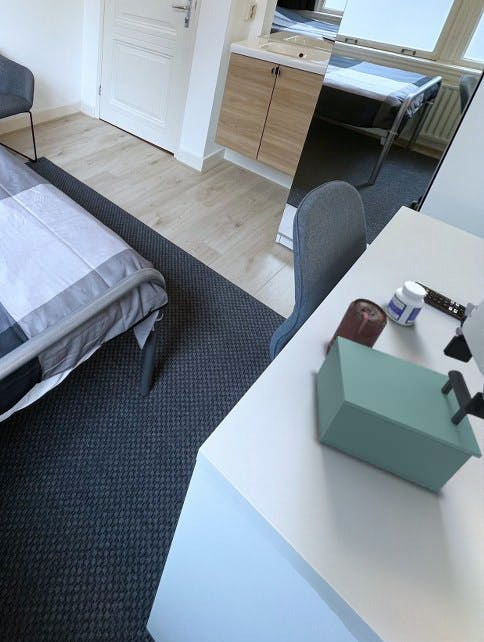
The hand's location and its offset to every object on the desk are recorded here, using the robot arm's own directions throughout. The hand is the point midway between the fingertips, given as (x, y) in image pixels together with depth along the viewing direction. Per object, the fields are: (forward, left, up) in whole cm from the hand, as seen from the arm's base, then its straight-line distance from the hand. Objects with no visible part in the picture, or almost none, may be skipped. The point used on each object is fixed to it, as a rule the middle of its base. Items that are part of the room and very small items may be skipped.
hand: (465, 384), depth 62 cm
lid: (+6, 0, -6) cm, 9 cm away
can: (+10, -13, -17) cm, 24 cm away
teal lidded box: (+7, 0, -17) cm, 18 cm away
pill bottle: (-3, -31, -17) cm, 36 cm away
